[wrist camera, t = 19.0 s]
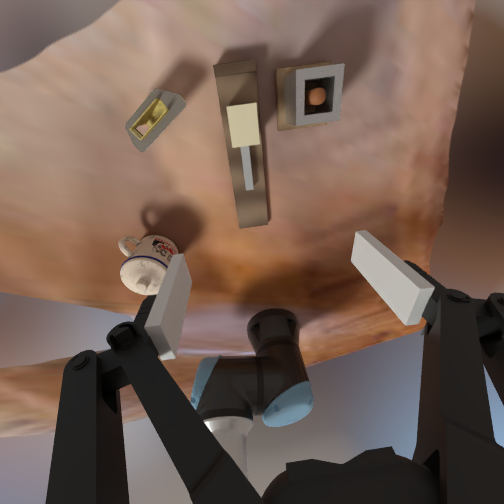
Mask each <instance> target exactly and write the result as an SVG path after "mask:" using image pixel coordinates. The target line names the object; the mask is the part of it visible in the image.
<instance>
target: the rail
mask: <svg viewBox="0 0 504 504" xmlns="http://www.w3.org/2000/svg"><path fill="white" fill-rule="evenodd" d="M213 67H214V73H215V78H216V84H217V90H218V96H219V103H220V109H221V115H222V121H223V128H224V134H225V140H226V146H227V152H228V159H229V165H230V171H231V177H232V184H233V190H234V196H235V202H236V209H237V215H238V221H239V227H240V229H241V228H248V227H255V226H262V225H268V216H267V204H266V191H265V179H264V166H263V154H262V141H261V128H260V116H259V103H258V91H257V78H256V71H257V64H256V60H248V61H241V62H233V63H226V64H218V65H213ZM250 103H257V115H258V127H259V138H260V144H258V145H251V146H249V151H250V160H251V169H252V178H253V188H254V190H247V191H246V187H245V179H244V171H243V164H242V156H241V148H240V147H236V148H232V142H231V135H230V128H229V121H228V114H227V108H226V107H228V106H235V105H242V104H250Z"/></svg>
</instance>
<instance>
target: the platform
mask: <svg viewBox="0 0 504 504" xmlns="http://www.w3.org/2000/svg"><path fill="white" fill-rule="evenodd" d="M159 100H160V101H159ZM158 101H159V102H158ZM157 103H158V104H157ZM156 105H157V106H156ZM155 107H156V108H155ZM185 107H186V102H185V101H184V99H183V98H182V97H181V96H180V95H179V94H176V93H172V92H168V91H164V90H160V89H154V90H153V91H152V93H151V94H150V95H149V96H148V97H147V99H146V100H145V101H144V102H143V103H142V105H141V106H140V107H139V108H138V109H137V111H136V112H135V113H134V114H133V115H132V117H131V118H130V119H129V120H128V121H127V123H126V130H127V132H128V134H129V136H130V138H131V140H132V142H133V144H134V146H135V147H136V148H137V149H138V150H139V151H140V152H145V151H146V150H147V149H148V148H149V147H150V145H151V144H152V143H153V142H154V141H155V140H156V139H157V138H158V137H159V136H160V135H161V133H162V132H163V131H164V130H165V129H166V128H167V127H168V126H169V125H170V124H171V123H172V121H173V120H174V119H175V118H176V117H177V116H178V115H179V114H180V113H181V112H182V110H183V109H184V108H185ZM149 118H150V119H149ZM144 124H147V125H148V126H149V127H150V129H149V130H148V131H147V132H146V133H145V135H144V136H143V135H142V134H141V133H140V132H139V131H138V130H137V129H136V128H137V127H138V126H139V125H144Z"/></svg>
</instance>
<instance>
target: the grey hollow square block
mask: <svg viewBox="0 0 504 504" xmlns="http://www.w3.org/2000/svg"><path fill="white" fill-rule="evenodd" d="M344 66H345V63H343V64H335V65H328V66H320V67H312V68H305V69H297V70H295V71H293V72H291V73H289V74H288V75H286V76H284V98H285V123H286V124H290V125H294V126H301V125H308V124H315V123H323V122H330V121H338V120H340V110H341V99H342V88H343V77H344ZM310 82H316V88H323V89H324V90H325V92H326V98H325V100H324V102H323V103H321V104H319V105H315V111H314V112H306V113H304V100H305V83H310Z"/></svg>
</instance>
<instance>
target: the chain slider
mask: <svg viewBox="0 0 504 504" xmlns="http://www.w3.org/2000/svg"><path fill="white" fill-rule="evenodd" d="M226 108H227V114H228V121H229V128H230V135H231V142H232V148H236V147H240V148H241V156H242V164H243V171H244V179H245V187H246V191H247V190H254V188H253V178H252V169H251V160H250V151H249V146H251V145H258V144H260V138H259V127H258V115H257V103H250V104H242V105H235V106H228V107H226Z"/></svg>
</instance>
